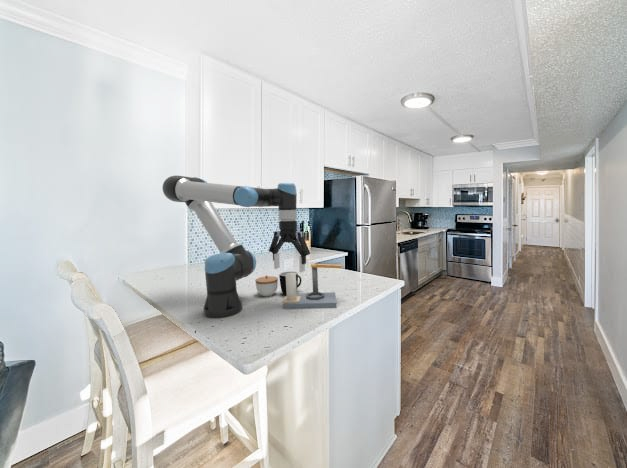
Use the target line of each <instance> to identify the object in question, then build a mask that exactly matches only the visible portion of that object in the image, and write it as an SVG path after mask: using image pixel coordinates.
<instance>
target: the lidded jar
mask: <svg viewBox="0 0 627 468" xmlns="http://www.w3.org/2000/svg"><path fill="white" fill-rule="evenodd" d="M278 279H279V278H278V277H276V276H271V275H267V274H266V275H264V276H261V277H258V278H255V286H256V291H257V293H258V294H260V296H262V297H272V296H274V294H275V293H276V291H277V290H278Z"/></svg>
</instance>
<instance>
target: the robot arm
mask: <svg viewBox="0 0 627 468" xmlns="http://www.w3.org/2000/svg"><path fill="white" fill-rule="evenodd" d="M161 189H162V192H163V195H164V196H165V197H166V199H168V200H170V201H172V202H176V203H185V205H186V206H187V208H188V210H190V211H194V214H196V216H197V218H198V219H199V221H200V223H201V224H202V225H203V227H204V229H205V231H206V232H207V233H208V235H209V237H210V238H211V240H212V242H213V243H214V245H215V247H216V248H217V249H218V252H219V253H217V254H212V255H211V256H209V257H207V258H206V259H205V260H204V274H205V284H206V299H205V301H204V306H203V315H204V316H205V317H207V318H211V319H212V318H214V319H216V318H218V319H219V318H226V317H230V316H234V315H236V314H238V313H240V312H241V311H242V310H243V304H242V300H241V298H240V295H239V293H238V291H237V290H238V289H237V281H239V280H241V279H243V278H247V277H248V276H249V275H251V274H253V273H254V271H255V270H256V267H257V259H256V256H255V254H254V253H253V252H252V251H251V250H246V248H245V247H244V245H243V244H240V243H238V242H237V240H236V239H235V237H234V236H233V235H232V233H231V231H230V230H229V228H228V227H227V225H226V224H225V222H224V220H223V219H222V217H221V215H220V214H219V212H218V211H217V209H216V207H215V206H214V204H213V203H215V204H225V205H234V206H240V207H243V208H252V207H253V208H254V207H257V208H264V207H265V208H267V207H278V220H279V221H278V228H279V230H276V231H275V230H274V232H273V238H272V240H271V243H270V246H269V249H268V252H269V253H272V260H273V267H274V268H273V269H275V270H276V269H280V264H281V263H280V253H279V251H280V249H281V248H282V246H283V245H284V243H289V244H292V245H293V247H294V248H295V249H296V250H297V252H298V254H299V255H300V256H299V257H298V260H299V273H304V272H305V271H306V269H305V267H306V264H307V256H309V255H311V252H310V249H309V247H308V244H307V242H306V239H305V238H304V237H305V236H304V232H303V231H299V232H298V231H297V229H298V221H297V216H298V215H297V214H298V213H297V186H296V184H295V183H292V182H280V183H278V184H277V187H276V188H263V187H262V188H261V187H252V186H247V185H246V186H241V185H240V186H239V185H233V184H222V183H213V182H212V183H211V182H210V183H209V182H208V181H206V180H205V179H203V178H199V177H197V176H195V177H191V176H190V177H189V176H183V175H171V176H169V177H166V179H165V180H164V181H163V183H162V188H161Z"/></svg>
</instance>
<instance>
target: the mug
mask: <svg viewBox="0 0 627 468" xmlns="http://www.w3.org/2000/svg"><path fill="white" fill-rule="evenodd" d="M287 273H296V289H297V290H298V288H299V287H300V286H301V284H302V277H301V276H300V275H299V273H298V271H283V272H280V273H279V275H278V277H279V278H278V279H279V285H280V289H281V293H282V295H284V297H287V294H286V275H285V274H287Z"/></svg>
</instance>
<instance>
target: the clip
mask: <svg viewBox="0 0 627 468" xmlns="http://www.w3.org/2000/svg"><path fill="white" fill-rule="evenodd" d="M310 267H311V269H312V268H316V267H317V268H320V269H321V268H322V269H323V268H324V269H325V268H326V269H342V268H343V266H342V264H329V263H311V264H310Z"/></svg>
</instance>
